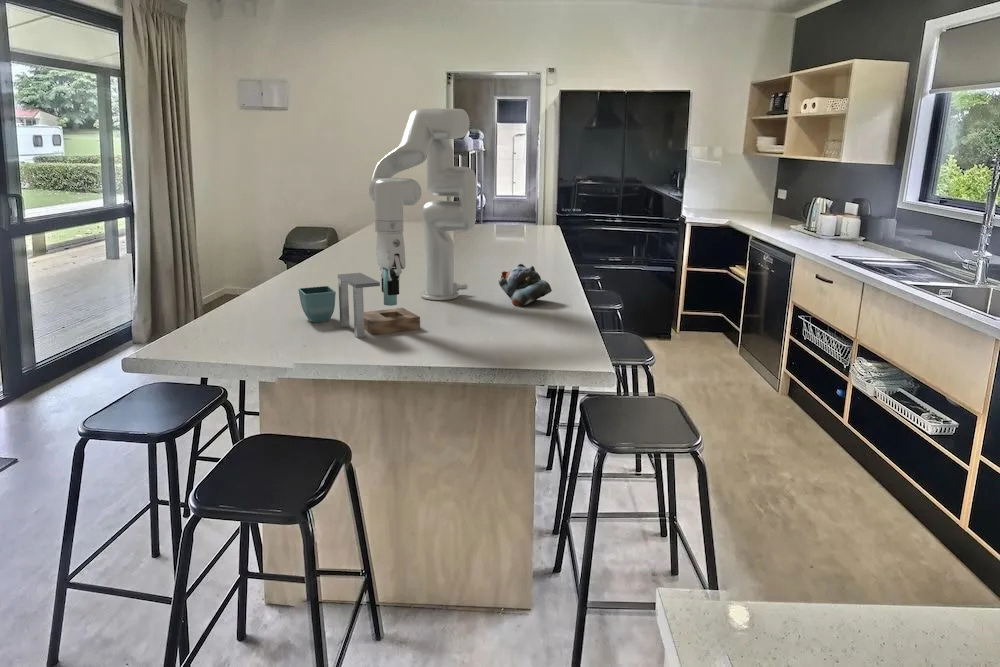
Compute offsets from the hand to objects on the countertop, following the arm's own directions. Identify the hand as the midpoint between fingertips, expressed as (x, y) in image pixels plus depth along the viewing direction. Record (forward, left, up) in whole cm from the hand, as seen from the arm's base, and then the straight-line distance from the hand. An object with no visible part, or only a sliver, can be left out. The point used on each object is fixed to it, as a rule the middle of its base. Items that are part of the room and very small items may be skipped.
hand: (390, 292), depth 197 cm
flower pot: (+16, -16, -10) cm, 25 cm away
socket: (+1, 0, -10) cm, 10 cm away
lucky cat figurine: (-50, -9, -10) cm, 52 cm away
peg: (0, 0, -3) cm, 3 cm away
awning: (+9, 0, -10) cm, 13 cm away
